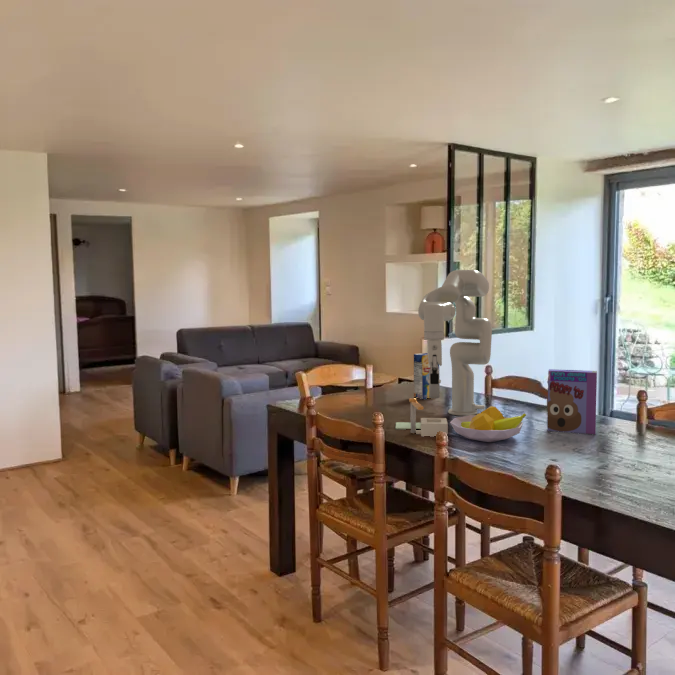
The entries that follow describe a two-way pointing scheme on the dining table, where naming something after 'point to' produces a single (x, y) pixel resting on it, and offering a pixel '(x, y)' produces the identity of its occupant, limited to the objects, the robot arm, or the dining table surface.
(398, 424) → the mat
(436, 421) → the socket block
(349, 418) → the dining table surface
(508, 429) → the fruit bowl
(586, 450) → the dining table surface
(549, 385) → the cereal box
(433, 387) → the plug
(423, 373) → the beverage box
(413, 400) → the bar
